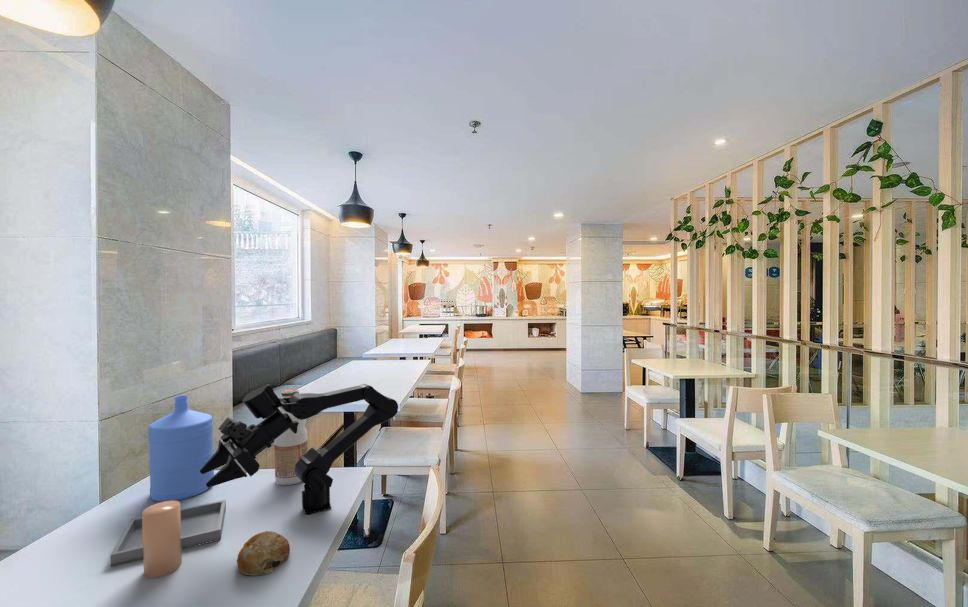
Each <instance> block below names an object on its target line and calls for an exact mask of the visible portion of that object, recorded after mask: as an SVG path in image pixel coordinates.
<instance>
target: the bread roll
mask: <svg viewBox="0 0 968 607" xmlns="http://www.w3.org/2000/svg"><path fill="white" fill-rule="evenodd" d="M290 547H291V546H290V543H289V540H288V538H286V536H284V535H282V534H280V533H278V532H275V531H267V530H266V531H262V532H259V533H256V534H255V535H253V536H251V537H250V538H249V539H248V540H247V541H245V542H244V544H243V546H242V548H241V549H240V550H239V551H238V555H237V558H236V563H237V565H236V566H237V570H238V572H239V573H240V574H242V575H246V576H252V577H255V576H256V577H257V576H263V575H269V574H271V573H272V572H274V571H275V570H277V569H278V568H279V567H281V566H282V565H283V564H284V563H286V561H287V560H288V559H289V556H290V553H291V548H290Z"/></svg>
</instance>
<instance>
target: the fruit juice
mask: <svg viewBox="0 0 968 607" xmlns="http://www.w3.org/2000/svg"><path fill="white" fill-rule="evenodd" d="M295 394H300V391H299V389H286V390H283V391H282V392H281V398H290V397H291V396H292V395H295ZM278 409H279V410H280V411H281V413H282V414H284V413H287V414H288V415H289V416H290V418H291V419H292V420H293V421H297V422H298V423H299V424H298V427H297V433H293V432H292V431H291V430H290V429H288V430H287V431H285V432H284V433H283V434H282V435H280V436H279V437H278V438H276V439H275V440H274V441H273V443H274V479H275V483H276V484H277V483H278V484H277V485H279V484H280V486H292V485H296V484H299V483H301V482H302V481H301V480H300V479H299V478H298V477H297V476H296V474H295V465H296V463H297V462H298V461H299V460H300V458H299V457H300V456H303V455H304V454H306V453H307V452H308V451H309V448H308V431H307V428H306V422H307V419H303V420H300V419H297V418H296V417H294V416H293V415H291V414H290V413H289V412H286V411H285V410H283V409H282V408H280V407H279V408H278ZM302 483H303V482H302ZM291 484H292V485H291Z"/></svg>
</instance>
